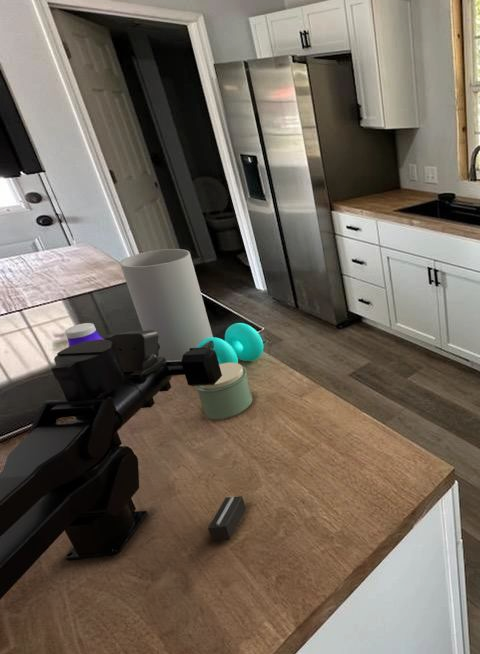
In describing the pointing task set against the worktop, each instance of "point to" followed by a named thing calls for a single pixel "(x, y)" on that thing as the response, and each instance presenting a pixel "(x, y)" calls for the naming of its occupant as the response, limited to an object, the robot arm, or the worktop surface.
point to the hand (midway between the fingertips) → (185, 344)
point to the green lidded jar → (226, 393)
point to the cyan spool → (237, 344)
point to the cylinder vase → (168, 299)
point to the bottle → (82, 333)
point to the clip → (227, 518)
